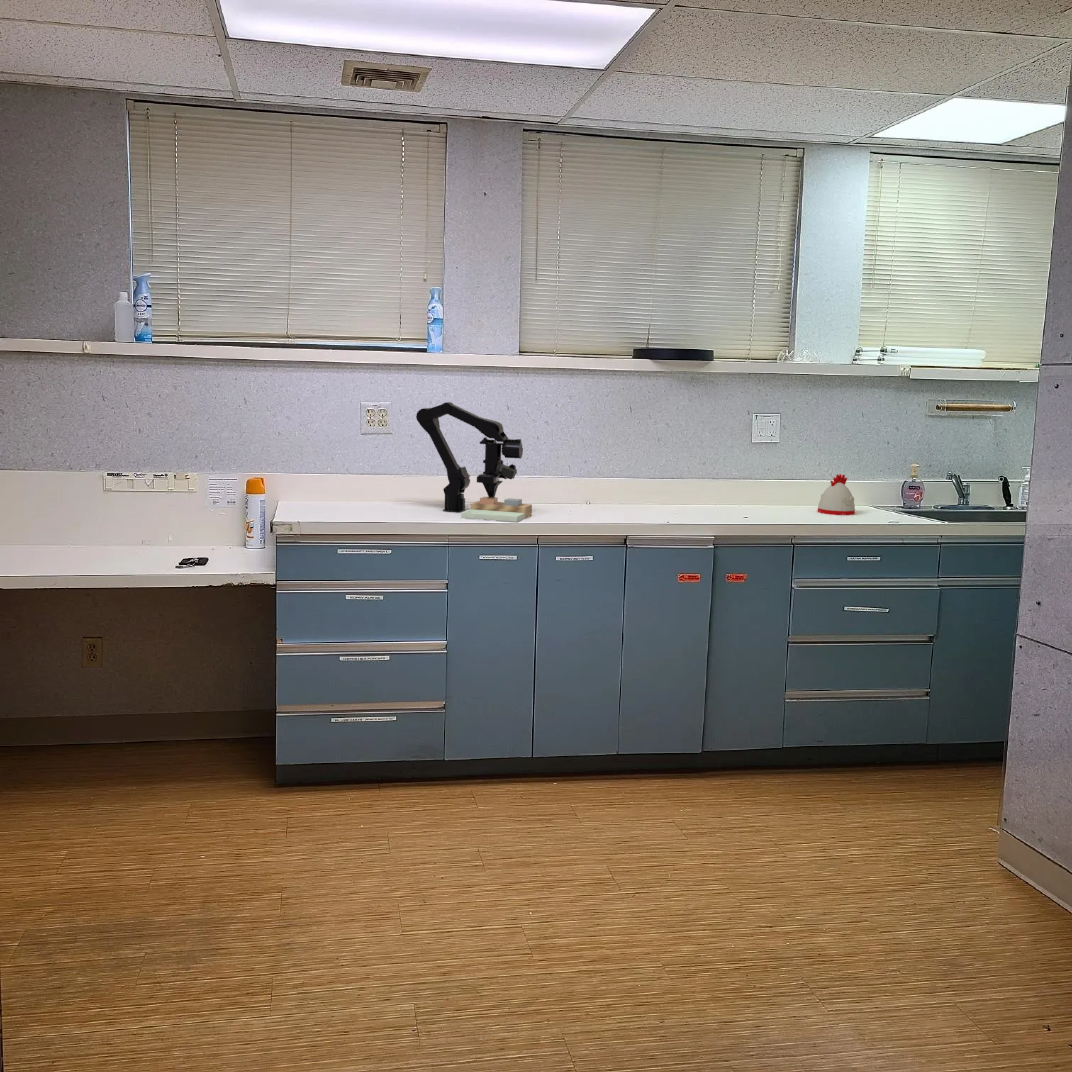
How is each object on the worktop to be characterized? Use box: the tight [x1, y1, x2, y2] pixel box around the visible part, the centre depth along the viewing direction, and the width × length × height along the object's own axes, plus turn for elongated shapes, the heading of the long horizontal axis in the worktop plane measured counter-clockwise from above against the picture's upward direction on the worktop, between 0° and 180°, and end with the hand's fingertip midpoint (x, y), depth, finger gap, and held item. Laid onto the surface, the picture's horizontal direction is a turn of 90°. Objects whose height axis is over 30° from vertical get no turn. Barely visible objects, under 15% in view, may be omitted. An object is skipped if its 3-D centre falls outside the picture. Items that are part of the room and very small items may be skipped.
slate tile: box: [503, 497, 523, 506], centre depth 378 cm, size 5×5×2 cm
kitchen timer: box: [817, 474, 856, 516], centre depth 416 cm, size 14×14×15 cm
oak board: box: [470, 500, 533, 519], centre depth 380 cm, size 20×8×4 cm, turn 74°
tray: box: [460, 508, 526, 523], centre depth 371 cm, size 20×10×2 cm, turn 75°
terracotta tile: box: [479, 496, 499, 505], centre depth 380 cm, size 5×5×2 cm
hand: (491, 500), depth 384 cm, fingers closed
